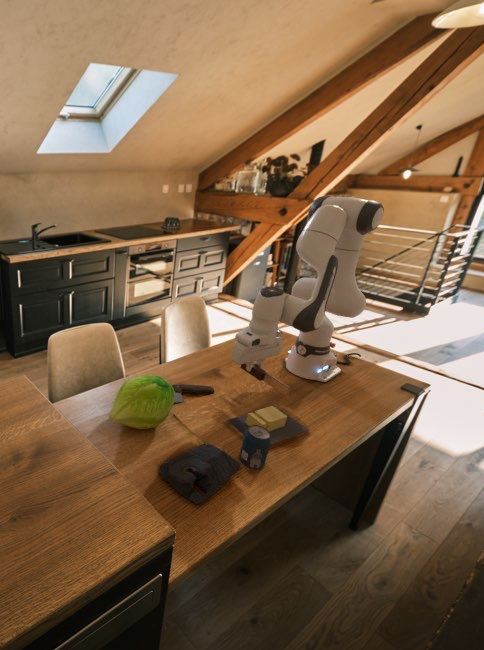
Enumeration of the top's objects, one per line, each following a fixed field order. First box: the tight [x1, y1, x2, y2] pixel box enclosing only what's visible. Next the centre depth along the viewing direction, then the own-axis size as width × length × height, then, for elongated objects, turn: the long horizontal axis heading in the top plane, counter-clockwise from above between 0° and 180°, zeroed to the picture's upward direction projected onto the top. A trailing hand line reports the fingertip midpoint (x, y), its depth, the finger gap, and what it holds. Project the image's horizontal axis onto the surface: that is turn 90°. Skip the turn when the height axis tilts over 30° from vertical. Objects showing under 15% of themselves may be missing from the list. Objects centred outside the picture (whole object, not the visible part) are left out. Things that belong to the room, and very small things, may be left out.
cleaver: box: [171, 384, 215, 404], centre depth 142 cm, size 29×10×2 cm, turn 94°
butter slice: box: [246, 411, 266, 428], centre depth 124 cm, size 2×6×4 cm, turn 24°
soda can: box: [238, 425, 272, 470], centre depth 110 cm, size 7×7×12 cm
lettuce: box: [108, 374, 175, 430], centre depth 124 cm, size 19×25×17 cm
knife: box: [240, 362, 291, 397], centre depth 130 cm, size 19×2×4 cm, turn 23°
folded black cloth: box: [159, 443, 241, 505], centre depth 108 cm, size 15×22×5 cm
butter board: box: [226, 404, 309, 446], centre depth 126 cm, size 22×14×6 cm, turn 114°
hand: (253, 369), depth 134 cm, fingers closed on knife, 2 cm apart
